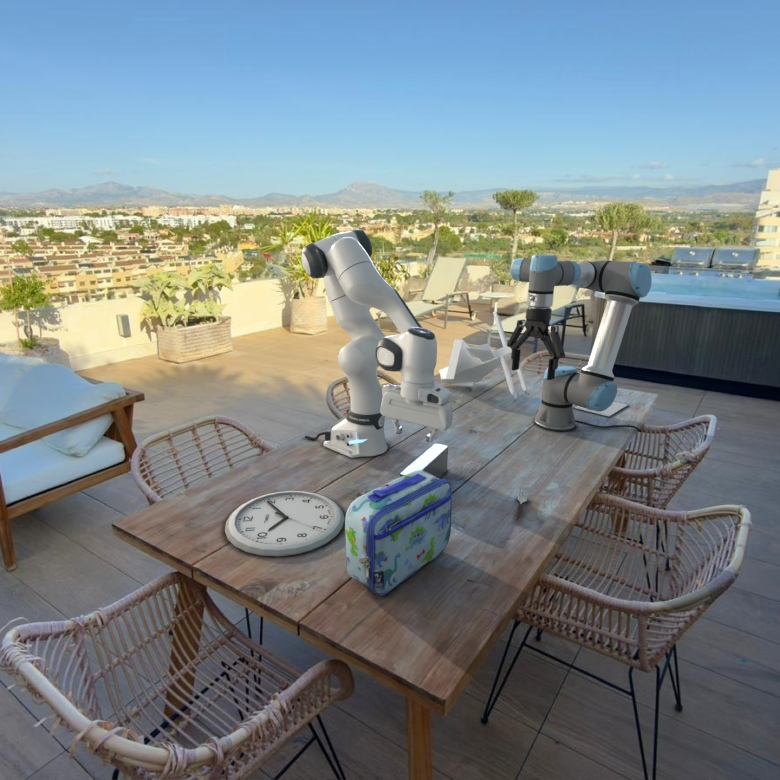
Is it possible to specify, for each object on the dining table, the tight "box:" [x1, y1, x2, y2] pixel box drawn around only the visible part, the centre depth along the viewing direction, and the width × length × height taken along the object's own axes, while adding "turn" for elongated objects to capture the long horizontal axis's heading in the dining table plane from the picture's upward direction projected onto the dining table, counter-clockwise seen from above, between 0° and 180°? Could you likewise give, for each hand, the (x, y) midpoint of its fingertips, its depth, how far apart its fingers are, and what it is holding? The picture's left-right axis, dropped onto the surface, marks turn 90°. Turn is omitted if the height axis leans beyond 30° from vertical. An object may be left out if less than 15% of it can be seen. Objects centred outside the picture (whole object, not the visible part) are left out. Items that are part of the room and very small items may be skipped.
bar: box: [398, 442, 449, 479], centre depth 154 cm, size 24×4×8 cm, turn 152°
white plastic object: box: [438, 310, 531, 400], centre depth 245 cm, size 37×45×31 cm
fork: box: [516, 487, 529, 521], centre depth 143 cm, size 3×16×2 cm, turn 160°
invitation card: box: [573, 400, 629, 418], centre depth 226 cm, size 21×1×15 cm
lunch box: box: [344, 470, 453, 596], centre depth 114 cm, size 26×11×21 cm, turn 135°
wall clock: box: [224, 490, 345, 557], centre depth 134 cm, size 30×2×30 cm
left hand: (413, 437), depth 143 cm, fingers open, 8 cm apart
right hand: (532, 374), depth 165 cm, fingers open, 13 cm apart
